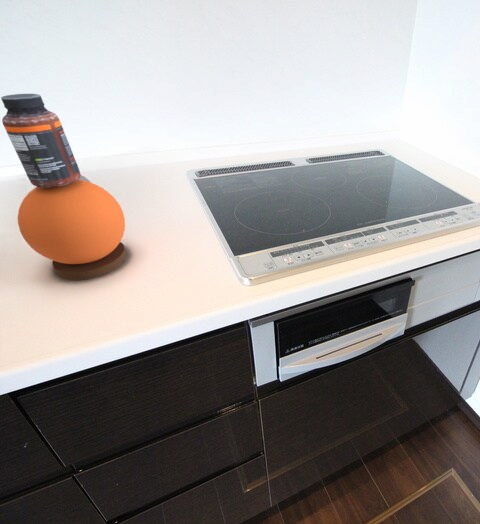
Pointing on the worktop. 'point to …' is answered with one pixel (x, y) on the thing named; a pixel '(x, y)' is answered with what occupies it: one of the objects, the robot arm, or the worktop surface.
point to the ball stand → (74, 229)
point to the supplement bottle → (39, 141)
